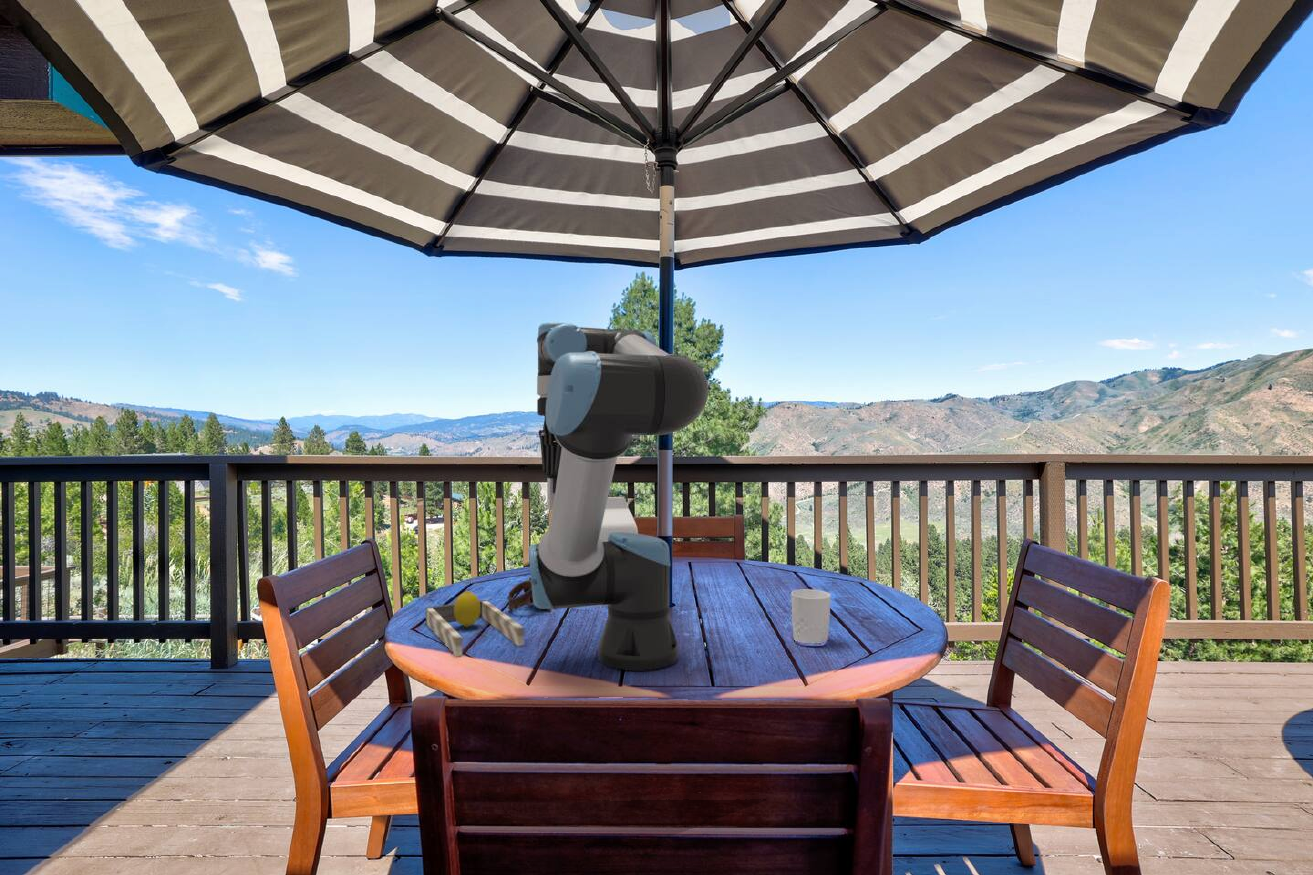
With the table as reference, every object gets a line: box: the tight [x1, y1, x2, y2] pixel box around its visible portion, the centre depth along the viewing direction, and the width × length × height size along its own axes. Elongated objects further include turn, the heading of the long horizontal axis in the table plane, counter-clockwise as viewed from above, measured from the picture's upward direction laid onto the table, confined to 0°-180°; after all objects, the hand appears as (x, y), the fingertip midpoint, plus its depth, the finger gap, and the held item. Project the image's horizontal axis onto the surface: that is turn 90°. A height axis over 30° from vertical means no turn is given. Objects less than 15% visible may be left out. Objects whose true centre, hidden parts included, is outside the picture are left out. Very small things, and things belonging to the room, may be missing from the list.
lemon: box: [454, 590, 480, 629], centre depth 142 cm, size 6×6×8 cm
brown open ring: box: [507, 579, 552, 613], centre depth 157 cm, size 12×10×8 cm
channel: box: [425, 599, 525, 658], centre depth 138 cm, size 25×13×4 cm, turn 32°
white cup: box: [790, 588, 832, 644], centre depth 135 cm, size 8×8×10 cm
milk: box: [593, 496, 639, 607], centre depth 168 cm, size 12×12×26 cm
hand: (554, 508), depth 139 cm, fingers closed
